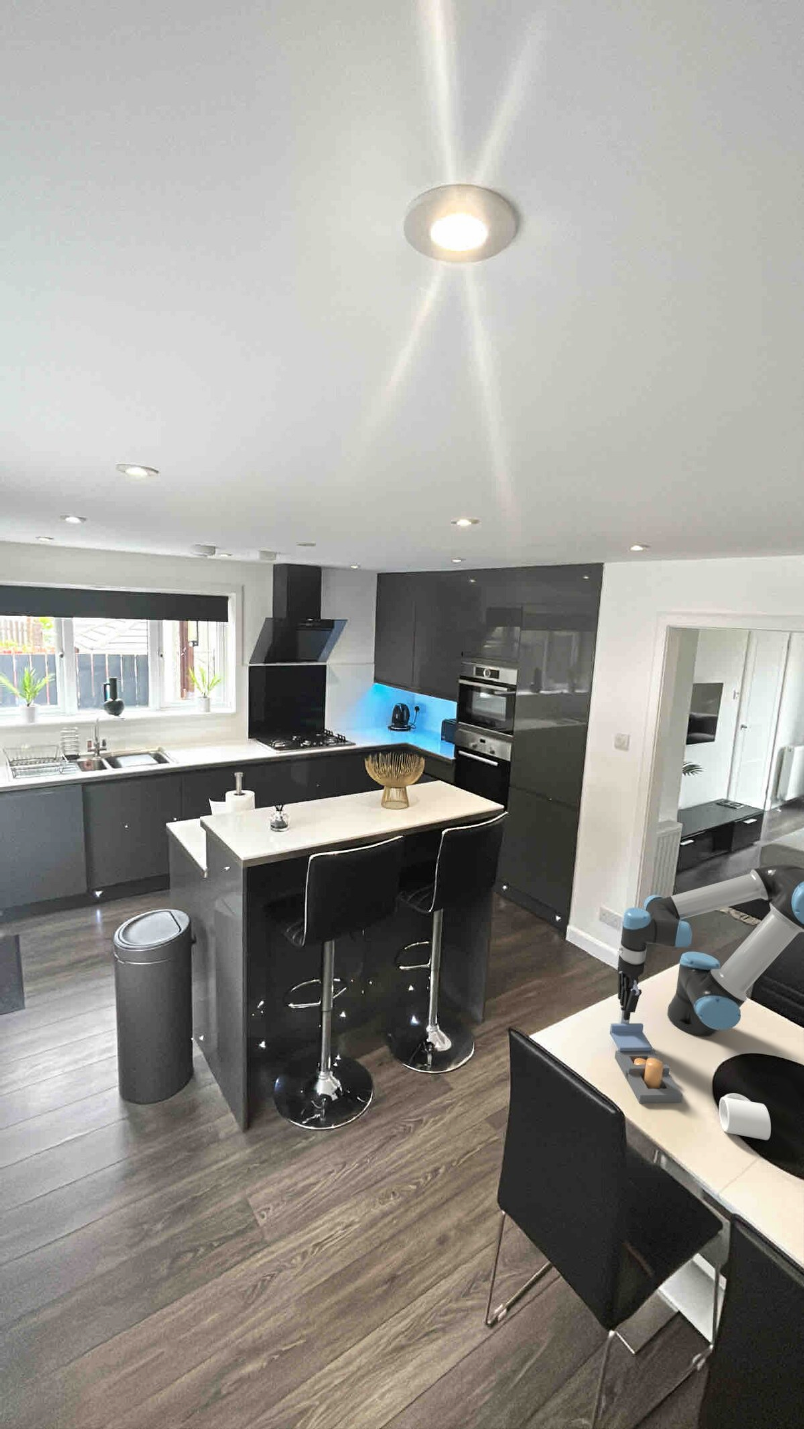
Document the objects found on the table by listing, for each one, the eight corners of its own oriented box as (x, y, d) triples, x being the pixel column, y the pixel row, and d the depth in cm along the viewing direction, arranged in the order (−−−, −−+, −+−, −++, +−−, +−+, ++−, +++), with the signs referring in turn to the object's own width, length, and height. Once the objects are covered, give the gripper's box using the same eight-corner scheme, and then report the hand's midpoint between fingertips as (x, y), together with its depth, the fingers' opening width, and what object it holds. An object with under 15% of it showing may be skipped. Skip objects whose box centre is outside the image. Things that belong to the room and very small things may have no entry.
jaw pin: (662, 1094, 174) (666, 1069, 172) (647, 1094, 173) (650, 1069, 172) (655, 1082, 178) (658, 1057, 176) (640, 1082, 178) (643, 1057, 176)
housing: (653, 1057, 188) (654, 1045, 187) (681, 1102, 171) (683, 1089, 170) (614, 1057, 187) (616, 1045, 186) (639, 1103, 170) (641, 1089, 169)
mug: (768, 1148, 158) (773, 1121, 156) (726, 1139, 160) (730, 1113, 158) (752, 1110, 169) (756, 1085, 168) (713, 1103, 171) (716, 1078, 170)
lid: (640, 1033, 194) (642, 1023, 193) (652, 1050, 187) (653, 1040, 186) (609, 1033, 193) (610, 1023, 193) (619, 1051, 186) (620, 1040, 185)
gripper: (611, 946, 197) (604, 1012, 201) (628, 970, 184) (619, 1040, 188) (635, 946, 197) (626, 1012, 201) (653, 970, 184) (644, 1040, 189)
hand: (623, 1026), depth 195 cm, fingers closed
